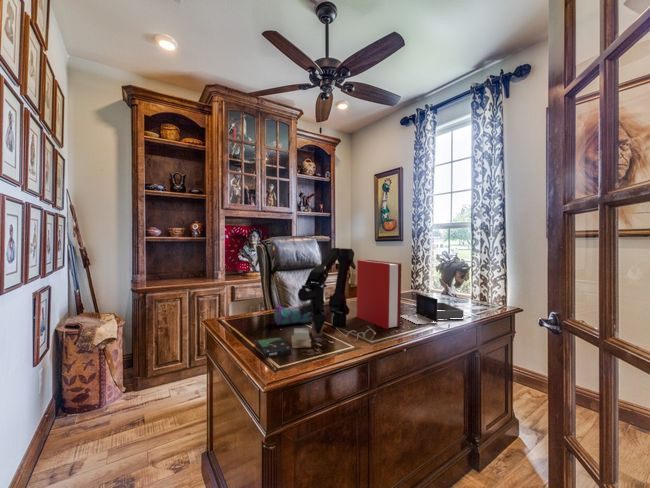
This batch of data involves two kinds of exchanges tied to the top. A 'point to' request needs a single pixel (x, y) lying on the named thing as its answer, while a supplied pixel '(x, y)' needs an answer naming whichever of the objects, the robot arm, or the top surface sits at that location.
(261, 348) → the disk drive
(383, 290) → the book
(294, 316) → the pencil case
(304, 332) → the tower top
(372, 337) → the eyeglasses
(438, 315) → the charger caddy
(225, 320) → the top surface
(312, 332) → the walnut block
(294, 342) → the tower base
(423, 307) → the laptop
